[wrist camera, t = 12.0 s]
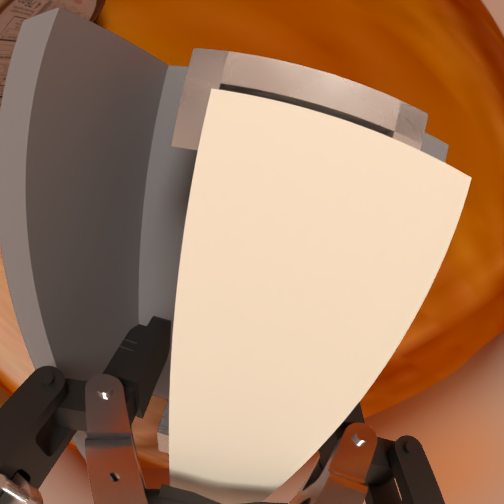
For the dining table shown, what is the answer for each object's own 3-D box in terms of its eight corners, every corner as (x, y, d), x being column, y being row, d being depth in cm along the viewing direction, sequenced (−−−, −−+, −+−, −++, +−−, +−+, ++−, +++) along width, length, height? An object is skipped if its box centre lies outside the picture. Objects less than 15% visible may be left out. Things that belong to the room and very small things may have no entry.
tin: (120, -22, 9) (45, -75, 1) (136, 1, 10) (53, -59, 2) (-11, 121, 13) (-88, 137, 5) (-2, 149, 14) (-83, 173, 6)
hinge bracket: (129, 372, 20) (85, 462, 12) (148, 70, 12) (18, 22, 3) (314, 412, 21) (322, 510, 12) (434, 143, 12) (570, 173, 3)
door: (202, 389, 18) (171, 515, 9) (257, 128, 12) (211, 88, 2) (257, 400, 18) (247, 528, 9) (344, 152, 12) (513, 205, 2)
